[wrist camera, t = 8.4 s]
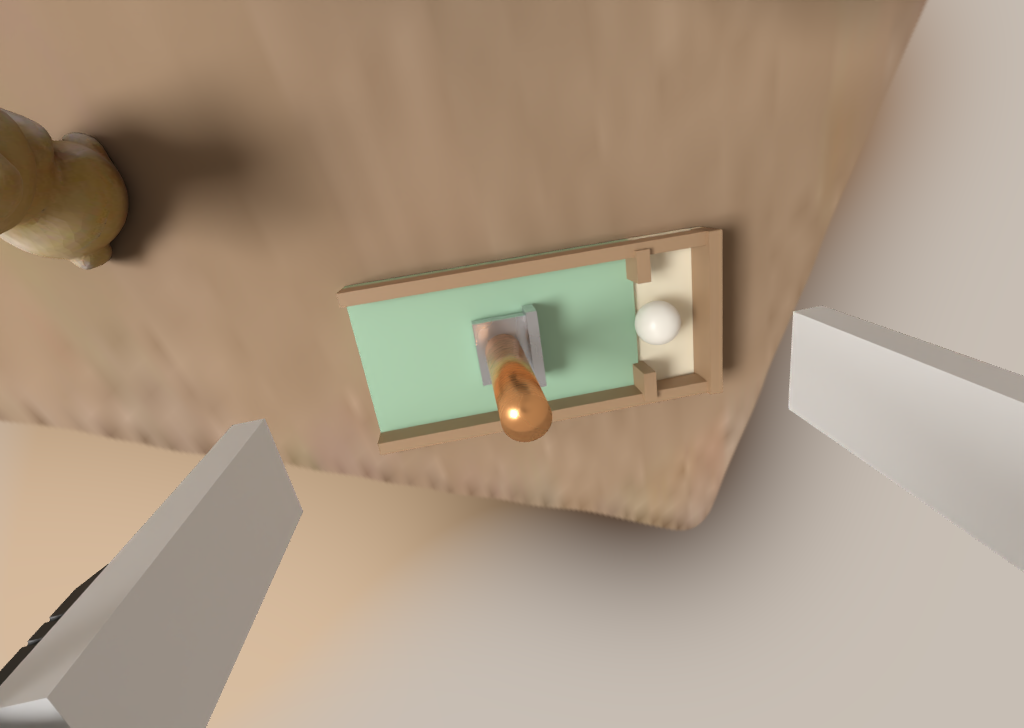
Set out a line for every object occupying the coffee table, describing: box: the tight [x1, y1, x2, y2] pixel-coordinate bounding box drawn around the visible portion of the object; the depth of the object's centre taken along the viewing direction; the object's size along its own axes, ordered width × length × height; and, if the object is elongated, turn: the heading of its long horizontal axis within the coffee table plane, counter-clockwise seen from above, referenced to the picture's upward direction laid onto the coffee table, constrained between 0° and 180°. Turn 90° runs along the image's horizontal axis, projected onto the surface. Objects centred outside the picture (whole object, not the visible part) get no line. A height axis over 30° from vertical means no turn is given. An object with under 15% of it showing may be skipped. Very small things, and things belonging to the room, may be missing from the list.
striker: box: [471, 304, 552, 442], centre depth 32 cm, size 6×5×13 cm
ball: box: [635, 301, 681, 345], centre depth 38 cm, size 4×4×4 cm
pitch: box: [336, 227, 723, 455], centre depth 38 cm, size 13×28×4 cm, turn 99°
